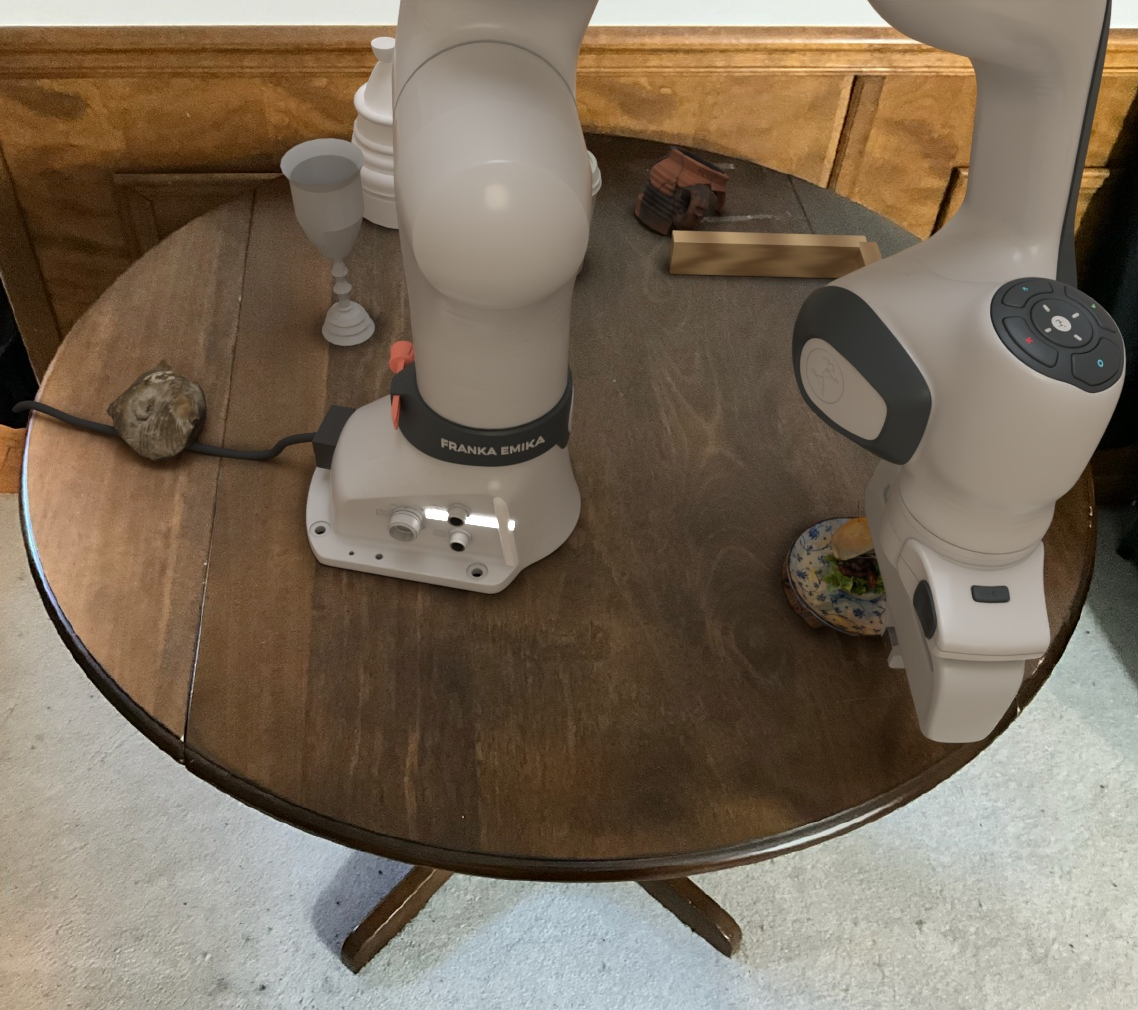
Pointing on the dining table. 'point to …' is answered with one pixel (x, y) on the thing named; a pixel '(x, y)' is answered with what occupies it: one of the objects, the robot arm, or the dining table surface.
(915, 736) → the dining table surface
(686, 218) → the pottery mug
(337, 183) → the chalice
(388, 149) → the honey pot
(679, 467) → the dining table surface
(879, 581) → the burger
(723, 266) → the corner fence
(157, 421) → the fossilized seashell
